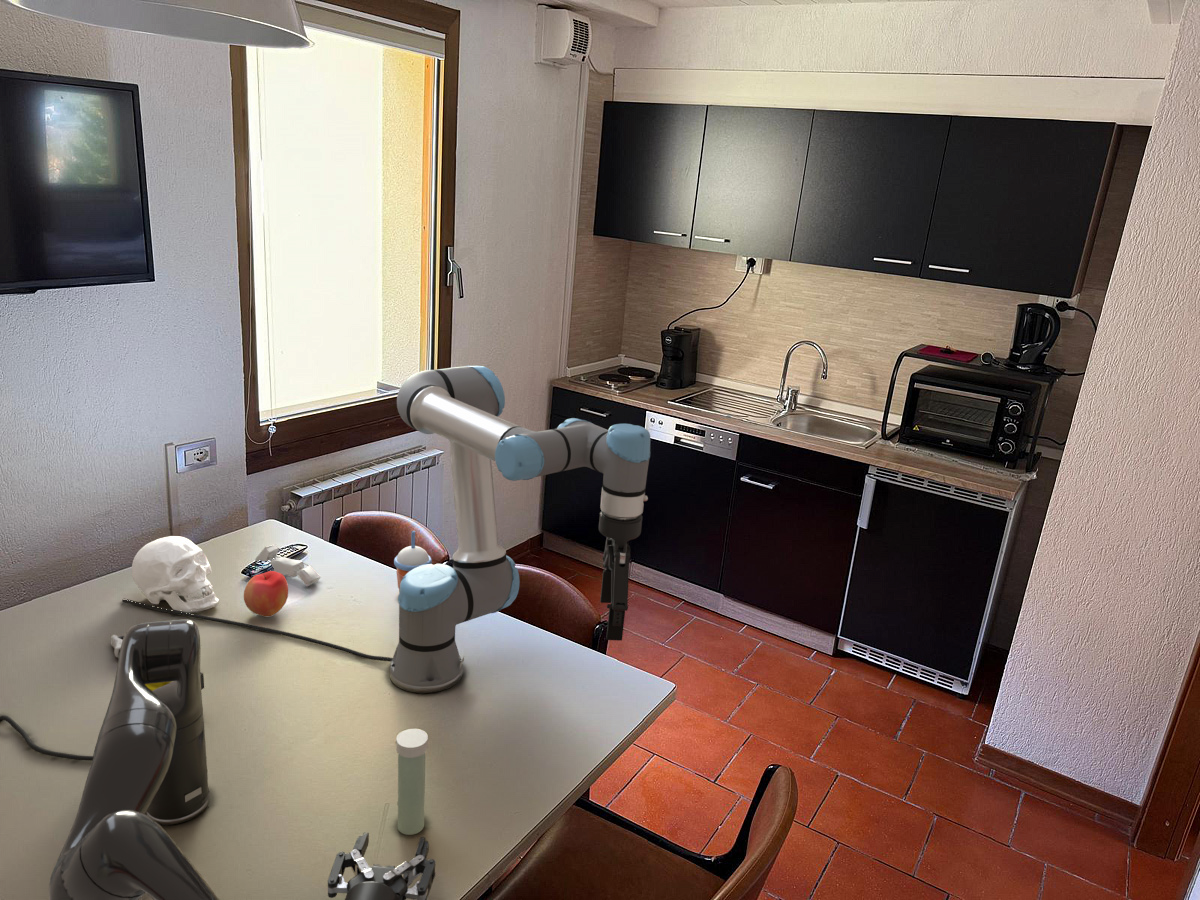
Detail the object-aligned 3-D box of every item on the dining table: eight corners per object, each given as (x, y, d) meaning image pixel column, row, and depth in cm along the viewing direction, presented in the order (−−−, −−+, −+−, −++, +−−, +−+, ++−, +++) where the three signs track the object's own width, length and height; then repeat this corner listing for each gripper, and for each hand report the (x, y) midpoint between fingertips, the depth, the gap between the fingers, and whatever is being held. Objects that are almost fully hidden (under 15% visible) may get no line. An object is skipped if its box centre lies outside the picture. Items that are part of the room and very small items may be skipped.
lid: (405, 735, 138) (405, 725, 138) (432, 742, 137) (433, 732, 137) (390, 753, 134) (390, 743, 133) (418, 760, 133) (419, 750, 132)
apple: (273, 600, 207) (272, 562, 204) (297, 613, 202) (296, 575, 199) (237, 614, 200) (234, 575, 197) (261, 628, 194) (259, 588, 191)
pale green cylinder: (405, 813, 142) (406, 729, 137) (428, 820, 141) (430, 735, 136) (392, 831, 138) (393, 745, 134) (416, 837, 137) (418, 751, 133)
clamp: (253, 565, 223) (254, 542, 221) (265, 560, 226) (266, 537, 224) (309, 593, 215) (310, 569, 213) (320, 588, 218) (321, 564, 216)
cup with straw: (422, 608, 209) (423, 541, 204) (387, 602, 210) (387, 535, 205) (436, 592, 217) (437, 527, 212) (403, 587, 219) (403, 522, 214)
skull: (197, 623, 194) (195, 558, 190) (119, 603, 200) (115, 540, 196) (237, 600, 207) (236, 539, 203) (163, 582, 212) (160, 522, 208)
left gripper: (310, 947, 114) (348, 855, 129) (416, 956, 114) (441, 863, 129) (309, 902, 111) (347, 814, 127) (417, 911, 111) (442, 822, 127)
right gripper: (652, 542, 138) (639, 657, 145) (634, 488, 162) (623, 588, 168) (606, 540, 138) (595, 655, 144) (595, 486, 161) (586, 587, 168)
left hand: (395, 839), depth 128 cm, fingers open, 8 cm apart
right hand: (610, 620), depth 156 cm, fingers open, 13 cm apart
